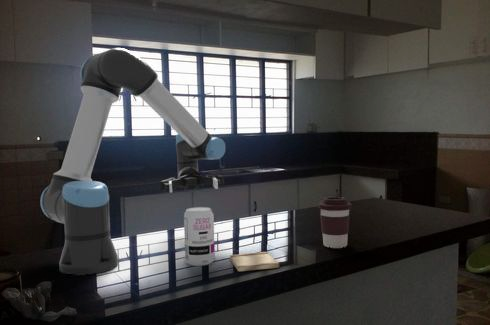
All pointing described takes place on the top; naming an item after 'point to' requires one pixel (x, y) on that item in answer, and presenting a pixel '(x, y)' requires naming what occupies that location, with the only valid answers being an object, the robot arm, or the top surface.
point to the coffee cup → (335, 221)
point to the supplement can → (199, 236)
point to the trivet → (253, 261)
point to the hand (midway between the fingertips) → (193, 186)
